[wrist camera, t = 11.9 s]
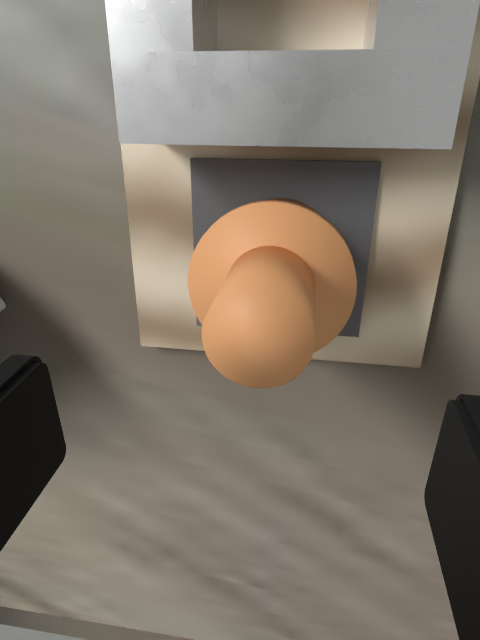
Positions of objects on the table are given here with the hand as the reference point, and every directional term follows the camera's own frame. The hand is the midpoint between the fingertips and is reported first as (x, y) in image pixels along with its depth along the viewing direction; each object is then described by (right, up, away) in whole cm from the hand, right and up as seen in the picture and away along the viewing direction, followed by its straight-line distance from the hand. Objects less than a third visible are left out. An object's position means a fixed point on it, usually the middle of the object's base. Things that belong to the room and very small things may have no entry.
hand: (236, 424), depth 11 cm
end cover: (+2, +6, +15) cm, 17 cm away
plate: (+3, +13, +13) cm, 19 cm away
